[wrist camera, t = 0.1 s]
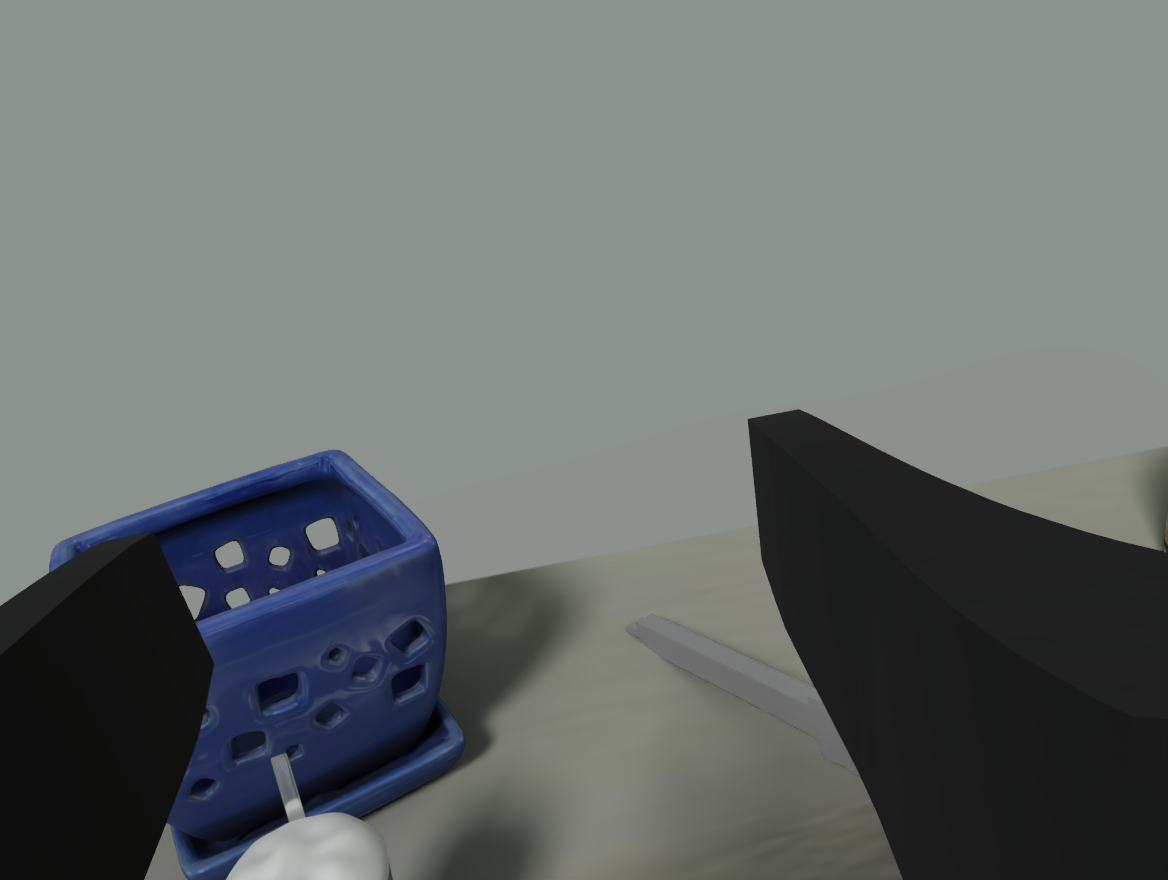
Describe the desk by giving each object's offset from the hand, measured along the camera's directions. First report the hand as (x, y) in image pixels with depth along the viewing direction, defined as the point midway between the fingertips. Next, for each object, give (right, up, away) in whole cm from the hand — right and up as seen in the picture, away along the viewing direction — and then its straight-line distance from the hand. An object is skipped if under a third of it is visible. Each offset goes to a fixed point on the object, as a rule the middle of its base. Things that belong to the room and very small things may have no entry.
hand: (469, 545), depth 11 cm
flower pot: (-11, -14, +30) cm, 34 cm away
